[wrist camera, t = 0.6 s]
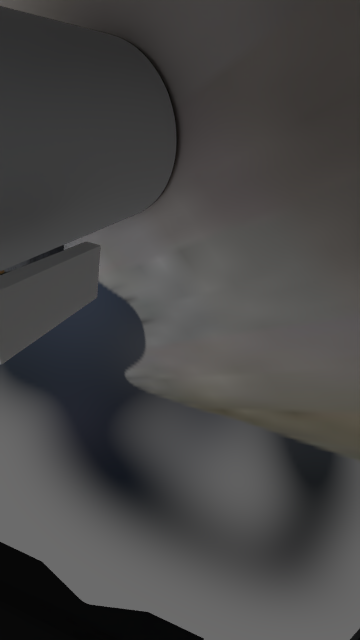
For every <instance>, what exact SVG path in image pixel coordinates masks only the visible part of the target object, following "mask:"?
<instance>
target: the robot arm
mask: <svg viewBox="0 0 360 640" xmlns="http://www.w3.org/2000/svg"><path fill="white" fill-rule="evenodd" d="M99 260H100V245H97V244H93V243H90V242H84V243H81V244H79V245H76V246H74V247H71V248H68V249H66V250H63V251H61V252H58V253H56V254H53V255H51V256H48V257H46V258H43V259H41V260H38V261H36V262H33V263H30V264H28V265H25V266H23V267H20V268H18V269H15V270H13V271H8V272H4V273H2V274H0V365H1V364H3V363H4V362H5V361H7V360H8V359H10V358H11V357H13V356H14V355H16V354H17V353H18V352H20V351H21V350H22V349H24V348H25V347H27V346H28V345H30V344H31V343H33V342H34V341H35V340H37V339H38V338H40V337H41V336H43V335H44V334H45V333H47V332H48V331H50V330H51V329H52V328H54V327H55V326H57V325H58V324H60V323H61V322H62V321H64V320H65V319H67V318H68V317H69V316H71V315H72V314H74V313H75V312H77V311H78V310H79V309H81V308H82V307H84V306H85V305H87V304H88V303H90V302H91V301H92V300H94V299H95V298H97V288H98V274H99ZM0 640H204V639H203V638H201V637H199V636H197V635H195V634H193V633H191V632H188V631H187V630H184V629H182V628H180V627H178V626H176V625H174V624H172V623H170V622H168V621H165V620H163V619H161V618H159V617H157V616H155V615H153V614H151V613H149V612H143V611H135V610H127V609H119V608H110V607H104V606H95V605H89V604H86V603H84V602H83V601H81V600H80V599H79V598H78V597H77V596H76V595H75V594H74V593H73V592H72V591H71V590H70V589H69V588H68V587H67V586H66V585H65V584H64V583H63V582H62V581H61V580H60V579H59V578H58V577H57V576H56V575H55V574H54V573H53V572H52V571H51V570H50V569H49V568H48V567H47V566H46V565H45V564H44V563H43V562H41V561H39V560H37V559H35V558H33V557H31V556H29V555H27V554H25V553H22V552H20V551H18V550H16V549H14V548H12V547H10V546H8V545H6V544H4V543H1V542H0ZM350 640H360V629H359V630H358V631H357V632H356V633H355V634H354V636H353V637H352V638H351V639H350Z"/></svg>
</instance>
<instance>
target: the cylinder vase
mask: <svg viewBox="0 0 360 640" xmlns="http://www.w3.org/2000/svg"><path fill="white" fill-rule="evenodd" d="M176 141H177V138H176V124H175V117H174V112H173V108H172V104H171V101H170V98H169V95H168V92H167V90H166V87H165V85H164V83H163V81H162V79H161V77H160V75H159V74H158V72H157V71H156V69H155V68H154V66H153V65H152V63H151V62H150V61H149V60H148V59H147V57H146V56H145V55H144V54H143V53H142V52H141V51H140V50H138V49H137V48H136V47H135V46H133V45H132V44H130V43H129V42H127V41H126V40H124V39H122V38H119V37H117V36H114V35H110V34H107V33H103V32H99V31H95V30H91V29H87V28H83V27H80V26H76V25H72V24H68V23H64V22H60V21H56V20H52V19H49V18H45V17H41V16H37V15H33V14H29V13H25V12H22V11H18V10H14V9H10V8H6V7H2V6H0V271H2V270H5V269H7V268H9V267H12V266H14V265H17V264H19V263H21V262H24V261H26V260H28V259H31V258H33V257H36V256H38V255H40V254H43V253H45V252H47V251H50V250H52V249H55V248H57V247H59V246H62V245H64V244H66V243H69V242H71V241H74V240H76V239H78V238H81V237H83V236H86V235H88V234H90V233H93V232H95V231H97V230H100V229H102V228H105V227H107V226H109V225H112V224H114V223H116V222H119V221H121V220H124V219H126V218H128V217H131V216H133V215H135V214H138V213H140V212H142V211H144V210H145V209H147V208H148V207H149V206H151V205H152V204H153V203H154V202H155V201H156V200H157V199H158V197H159V196H160V195H161V193H162V192H163V190H164V189H165V187H166V185H167V183H168V181H169V178H170V176H171V173H172V169H173V166H174V161H175V155H176Z"/></svg>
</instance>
